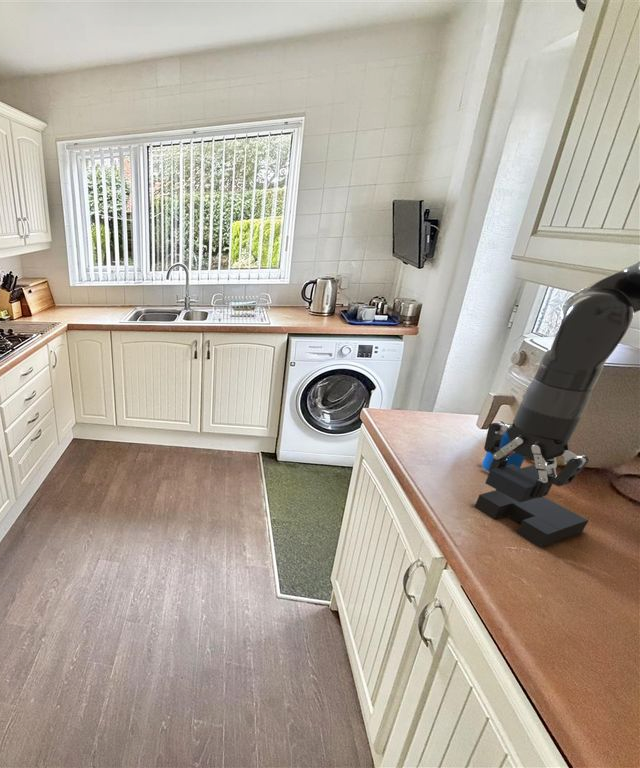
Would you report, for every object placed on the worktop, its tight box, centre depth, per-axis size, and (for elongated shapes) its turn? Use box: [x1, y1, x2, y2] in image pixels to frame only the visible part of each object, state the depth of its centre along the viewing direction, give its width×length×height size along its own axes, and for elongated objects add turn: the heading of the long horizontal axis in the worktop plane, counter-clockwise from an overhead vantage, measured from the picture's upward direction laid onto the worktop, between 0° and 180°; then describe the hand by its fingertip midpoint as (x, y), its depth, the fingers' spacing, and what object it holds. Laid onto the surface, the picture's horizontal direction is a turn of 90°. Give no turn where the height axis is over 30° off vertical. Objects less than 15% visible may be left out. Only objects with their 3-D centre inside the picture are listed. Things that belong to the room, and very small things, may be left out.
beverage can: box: [481, 423, 526, 474], centre depth 95 cm, size 6×6×12 cm
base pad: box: [474, 489, 589, 548], centre depth 83 cm, size 12×12×3 cm
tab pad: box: [484, 464, 539, 503], centre depth 76 cm, size 9×6×3 cm, turn 107°
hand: (514, 485), depth 76 cm, fingers closed on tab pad, 6 cm apart
